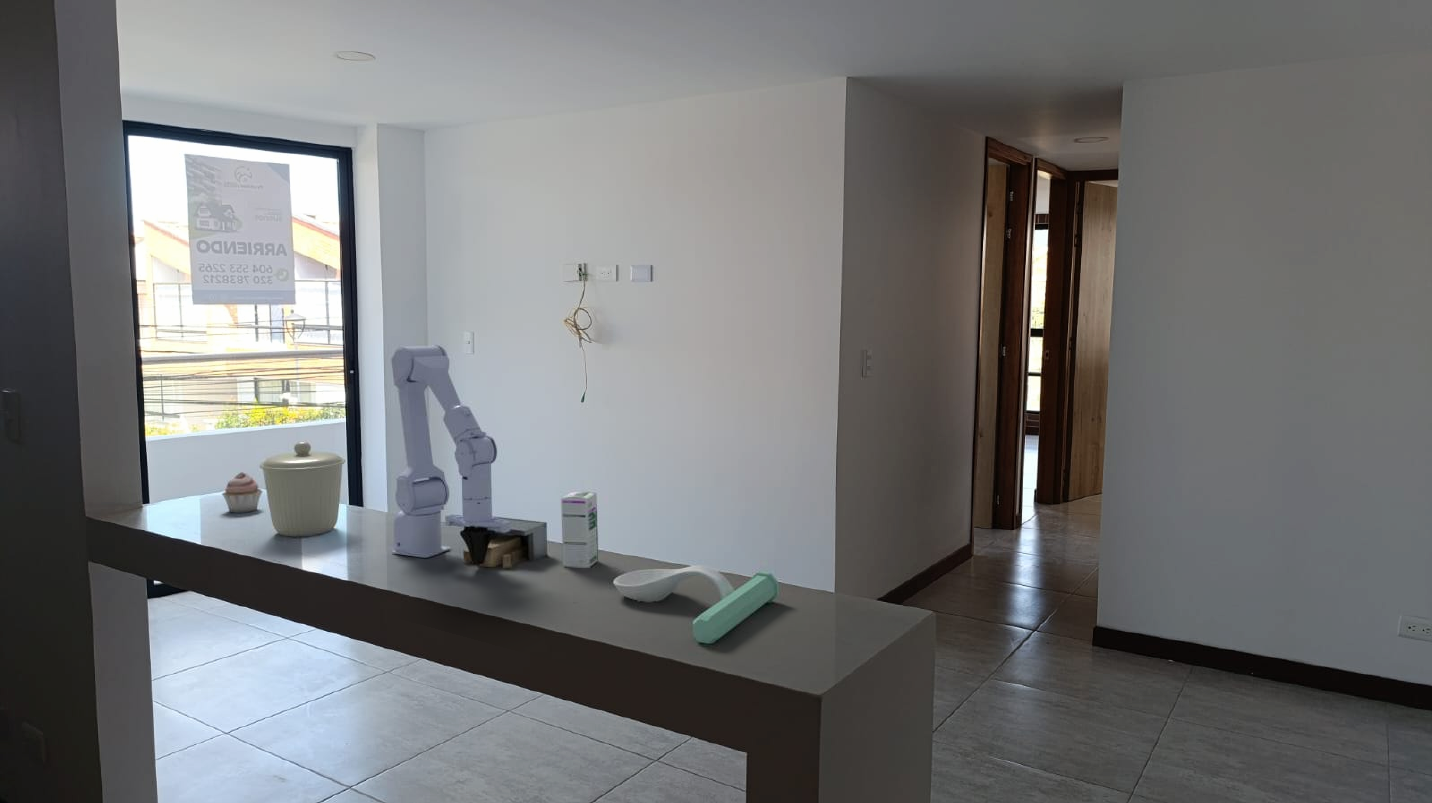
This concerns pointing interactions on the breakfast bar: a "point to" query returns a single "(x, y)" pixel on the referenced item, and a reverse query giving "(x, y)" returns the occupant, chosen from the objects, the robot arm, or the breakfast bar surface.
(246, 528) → the breakfast bar surface
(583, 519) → the syrup box
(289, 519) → the canister
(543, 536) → the awning
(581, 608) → the breakfast bar surface
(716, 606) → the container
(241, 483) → the cupcake
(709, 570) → the spoon rest
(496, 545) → the oak bar
